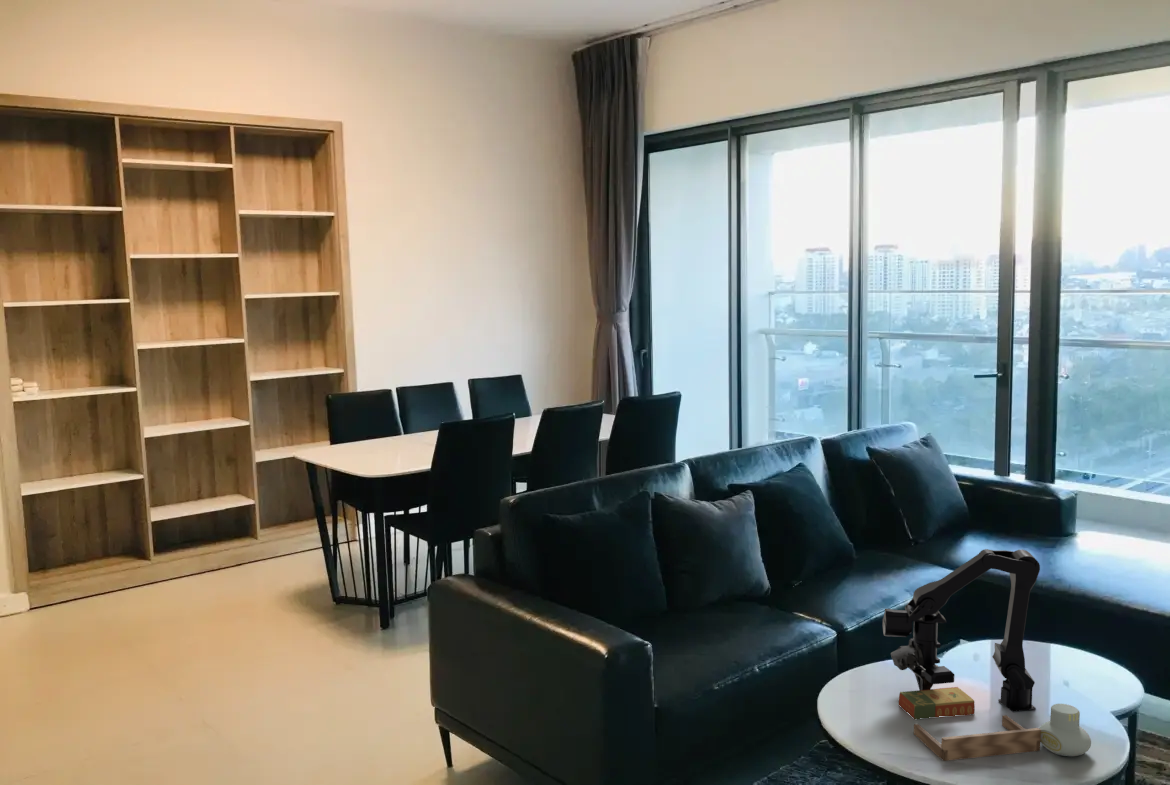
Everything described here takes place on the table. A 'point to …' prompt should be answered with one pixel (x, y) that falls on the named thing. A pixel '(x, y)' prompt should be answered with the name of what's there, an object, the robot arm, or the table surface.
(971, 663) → the table surface
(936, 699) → the carton
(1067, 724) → the air freshener
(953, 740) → the frame
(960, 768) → the table surface
